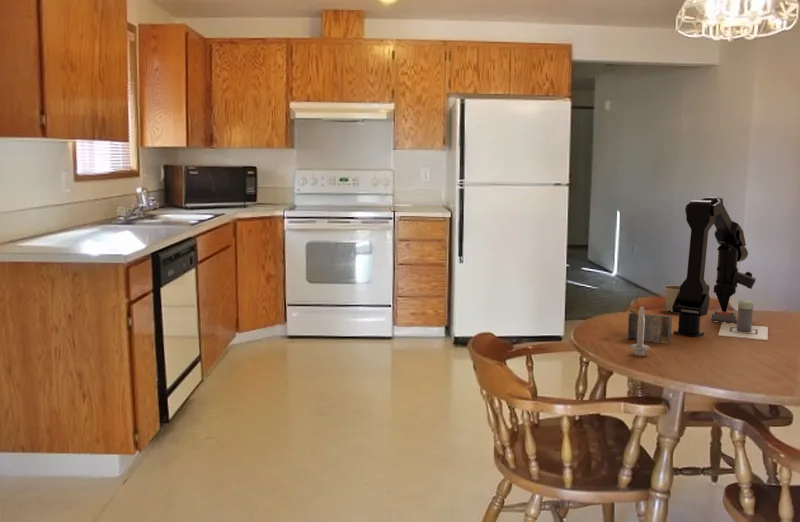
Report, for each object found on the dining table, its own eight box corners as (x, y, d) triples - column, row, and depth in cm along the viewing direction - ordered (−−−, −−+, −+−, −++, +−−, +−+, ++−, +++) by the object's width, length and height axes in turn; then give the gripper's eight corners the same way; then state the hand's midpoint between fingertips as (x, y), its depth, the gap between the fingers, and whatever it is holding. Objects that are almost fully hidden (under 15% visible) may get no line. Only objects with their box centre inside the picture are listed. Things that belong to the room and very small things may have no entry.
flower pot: (695, 314, 240) (696, 289, 239) (667, 314, 240) (668, 289, 239) (684, 309, 250) (686, 285, 249) (658, 309, 250) (659, 285, 249)
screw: (632, 356, 182) (628, 352, 187) (651, 357, 181) (646, 352, 186) (634, 307, 181) (630, 304, 185) (653, 307, 180) (649, 304, 185)
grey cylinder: (747, 332, 211) (749, 303, 209) (733, 330, 214) (735, 301, 213) (754, 331, 213) (756, 301, 212) (740, 328, 216) (742, 299, 215)
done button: (731, 320, 227) (731, 313, 226) (716, 318, 229) (716, 311, 228) (731, 317, 231) (732, 310, 230) (716, 316, 233) (717, 309, 232)
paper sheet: (767, 340, 202) (767, 339, 202) (718, 335, 208) (718, 334, 208) (767, 327, 219) (767, 326, 219) (721, 323, 225) (722, 322, 225)
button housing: (735, 324, 225) (735, 316, 225) (711, 321, 228) (711, 314, 228) (735, 320, 231) (736, 312, 231) (712, 318, 234) (713, 310, 234)
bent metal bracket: (627, 340, 202) (628, 307, 201) (629, 338, 205) (630, 305, 204) (668, 345, 197) (670, 311, 196) (670, 343, 199) (672, 309, 198)
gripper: (754, 268, 216) (751, 318, 217) (755, 262, 232) (752, 309, 234) (715, 266, 221) (712, 315, 222) (718, 260, 237) (715, 306, 239)
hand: (724, 311), depth 229 cm, fingers closed, pressing on done button
